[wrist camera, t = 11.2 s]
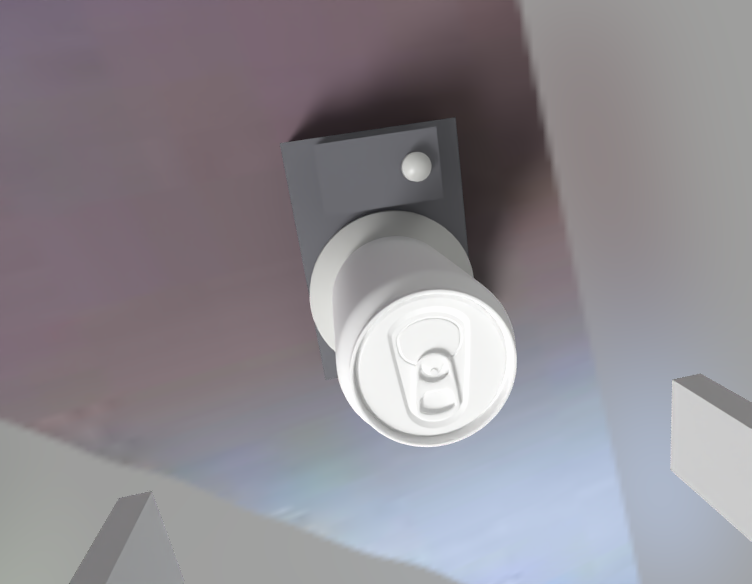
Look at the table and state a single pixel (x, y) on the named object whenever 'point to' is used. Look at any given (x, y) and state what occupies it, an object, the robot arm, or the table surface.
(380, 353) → the beverage can
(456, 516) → the table surface
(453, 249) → the grey hot plate stirrer
